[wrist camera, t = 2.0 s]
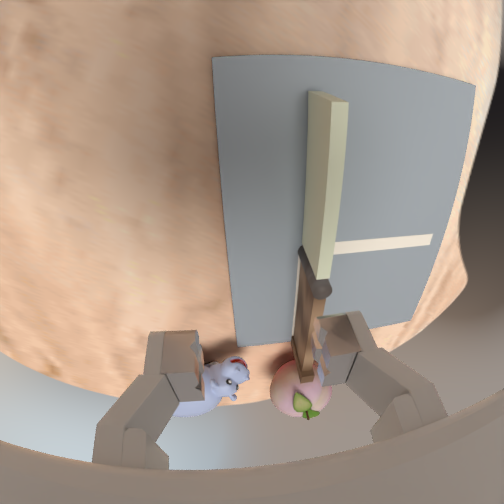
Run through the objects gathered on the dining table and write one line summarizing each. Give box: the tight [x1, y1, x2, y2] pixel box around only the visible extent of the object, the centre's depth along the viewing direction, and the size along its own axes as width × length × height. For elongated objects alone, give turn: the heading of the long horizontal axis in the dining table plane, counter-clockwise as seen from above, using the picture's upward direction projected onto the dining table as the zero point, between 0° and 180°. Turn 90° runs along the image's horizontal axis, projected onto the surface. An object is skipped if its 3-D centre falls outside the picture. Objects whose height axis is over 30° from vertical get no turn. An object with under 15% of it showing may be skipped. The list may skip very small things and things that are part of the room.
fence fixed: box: [291, 245, 332, 384], centre depth 33 cm, size 16×2×7 cm, turn 2°
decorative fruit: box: [270, 360, 332, 420], centre depth 41 cm, size 9×8×10 cm
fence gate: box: [302, 91, 349, 280], centre depth 24 cm, size 15×1×6 cm, turn 2°
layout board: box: [212, 55, 476, 347], centre depth 31 cm, size 34×26×1 cm
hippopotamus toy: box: [172, 356, 249, 417], centre depth 38 cm, size 11×15×10 cm
